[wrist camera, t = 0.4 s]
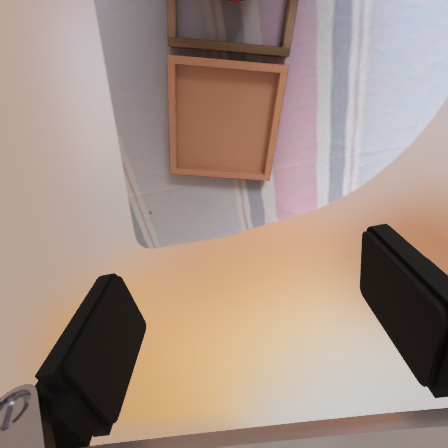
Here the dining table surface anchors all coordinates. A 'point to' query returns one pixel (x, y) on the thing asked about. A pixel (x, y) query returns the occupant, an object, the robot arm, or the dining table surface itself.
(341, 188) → the dining table surface
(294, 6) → the walnut frame
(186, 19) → the dining table surface
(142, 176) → the dining table surface
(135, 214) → the dining table surface
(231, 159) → the terracotta tray
